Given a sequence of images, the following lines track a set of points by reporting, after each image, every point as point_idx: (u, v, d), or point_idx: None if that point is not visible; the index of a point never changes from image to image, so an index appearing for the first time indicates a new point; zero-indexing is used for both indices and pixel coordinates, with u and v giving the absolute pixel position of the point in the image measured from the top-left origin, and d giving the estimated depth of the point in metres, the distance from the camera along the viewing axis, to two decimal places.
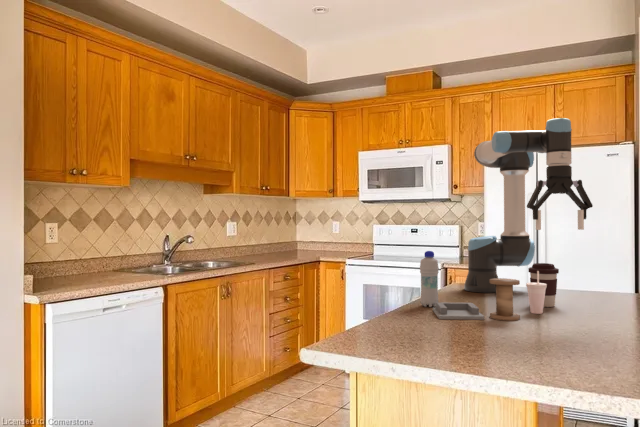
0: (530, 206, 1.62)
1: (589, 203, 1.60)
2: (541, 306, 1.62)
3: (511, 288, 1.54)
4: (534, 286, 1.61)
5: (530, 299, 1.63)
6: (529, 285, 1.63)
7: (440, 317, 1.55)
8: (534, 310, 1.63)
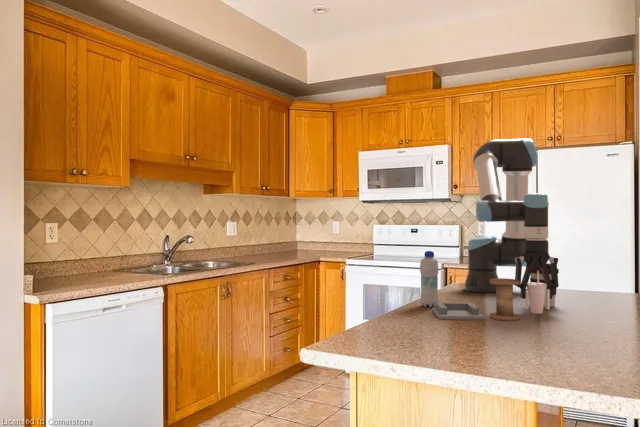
0: (518, 286, 1.63)
1: (556, 283, 1.62)
2: (541, 306, 1.62)
3: (511, 288, 1.54)
4: (534, 286, 1.61)
5: (530, 299, 1.63)
6: (529, 285, 1.63)
7: (440, 317, 1.55)
8: (534, 310, 1.63)
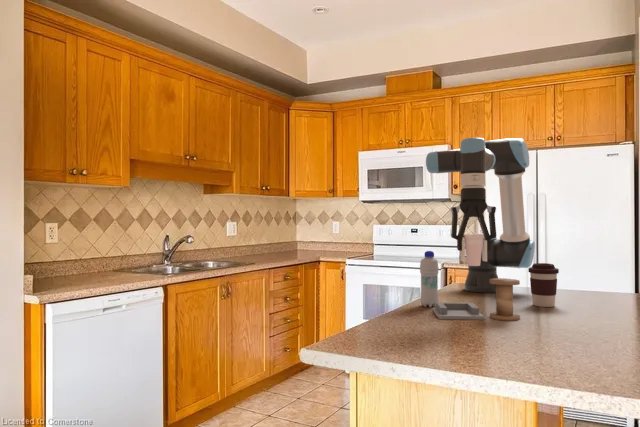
0: (454, 237, 1.53)
1: (494, 233, 1.52)
2: (478, 258, 1.52)
3: (511, 288, 1.54)
4: (470, 236, 1.51)
5: (467, 251, 1.53)
6: (465, 236, 1.53)
7: (440, 317, 1.55)
8: (471, 262, 1.52)
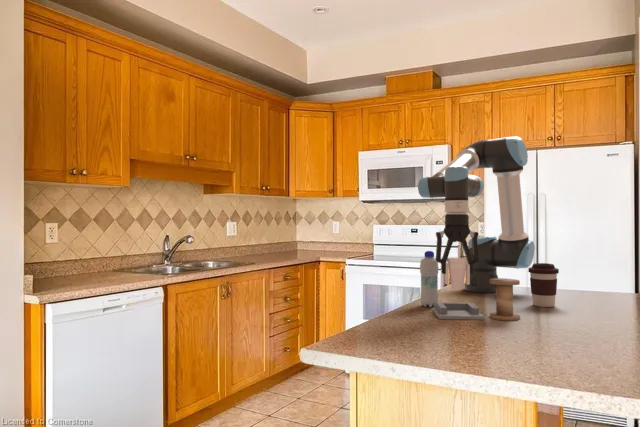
0: (438, 260, 1.60)
1: (476, 257, 1.60)
2: (461, 281, 1.59)
3: (511, 288, 1.54)
4: (453, 260, 1.59)
5: (450, 274, 1.61)
6: (449, 260, 1.60)
7: (440, 317, 1.55)
8: (454, 285, 1.60)
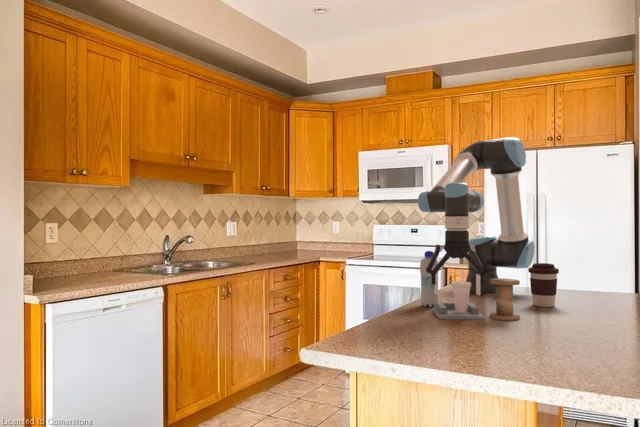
0: (427, 271, 1.61)
1: (486, 268, 1.59)
2: (465, 305, 1.59)
3: (511, 288, 1.54)
4: (457, 285, 1.58)
5: (454, 298, 1.60)
6: (453, 284, 1.60)
7: (440, 317, 1.55)
8: (458, 309, 1.59)
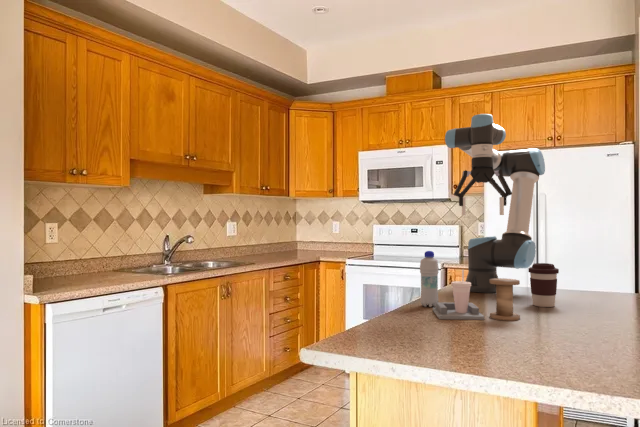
0: (456, 194, 1.79)
1: (509, 191, 1.77)
2: (465, 305, 1.59)
3: (511, 288, 1.54)
4: (458, 285, 1.58)
5: (454, 298, 1.60)
6: (453, 284, 1.60)
7: (440, 317, 1.55)
8: (458, 309, 1.59)
